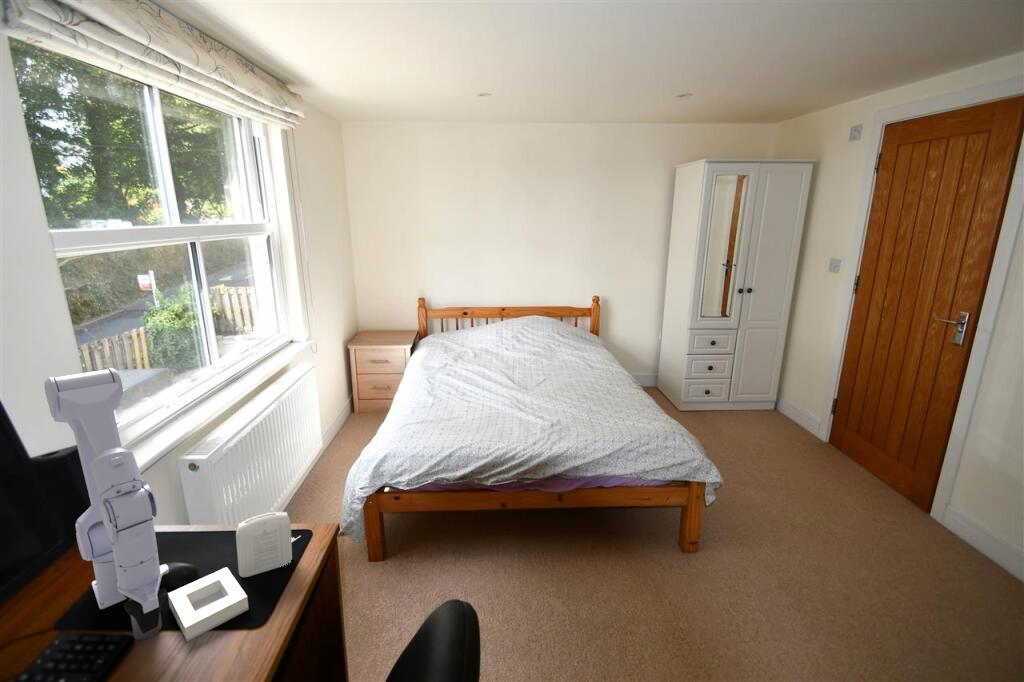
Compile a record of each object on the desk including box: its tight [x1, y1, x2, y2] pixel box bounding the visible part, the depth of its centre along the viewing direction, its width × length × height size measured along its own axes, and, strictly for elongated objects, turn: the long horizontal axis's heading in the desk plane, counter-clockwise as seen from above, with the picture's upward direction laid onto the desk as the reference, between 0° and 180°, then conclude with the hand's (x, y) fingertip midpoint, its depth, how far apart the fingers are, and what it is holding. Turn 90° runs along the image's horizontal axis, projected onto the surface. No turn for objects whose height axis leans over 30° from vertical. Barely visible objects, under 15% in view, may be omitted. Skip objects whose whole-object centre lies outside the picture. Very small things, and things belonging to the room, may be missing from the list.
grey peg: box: [129, 598, 163, 641], centre depth 82 cm, size 4×4×7 cm
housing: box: [167, 567, 249, 642], centre depth 88 cm, size 11×10×3 cm
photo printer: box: [235, 511, 293, 578], centre depth 98 cm, size 10×4×12 cm, turn 124°
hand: (146, 621), depth 82 cm, fingers closed on grey peg, 4 cm apart
